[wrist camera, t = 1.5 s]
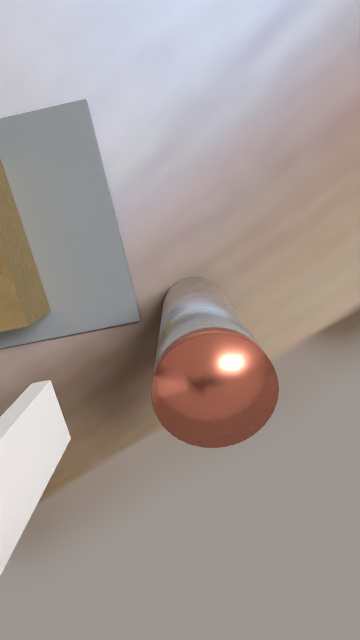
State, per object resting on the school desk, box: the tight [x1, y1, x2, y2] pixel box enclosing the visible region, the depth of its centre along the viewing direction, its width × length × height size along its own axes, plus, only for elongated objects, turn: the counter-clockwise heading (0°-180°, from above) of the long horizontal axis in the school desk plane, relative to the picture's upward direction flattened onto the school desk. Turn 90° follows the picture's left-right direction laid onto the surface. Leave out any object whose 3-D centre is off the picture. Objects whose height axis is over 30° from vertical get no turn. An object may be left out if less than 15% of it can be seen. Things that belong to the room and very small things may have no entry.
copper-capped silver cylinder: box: [151, 277, 279, 448], centre depth 17 cm, size 5×5×12 cm
